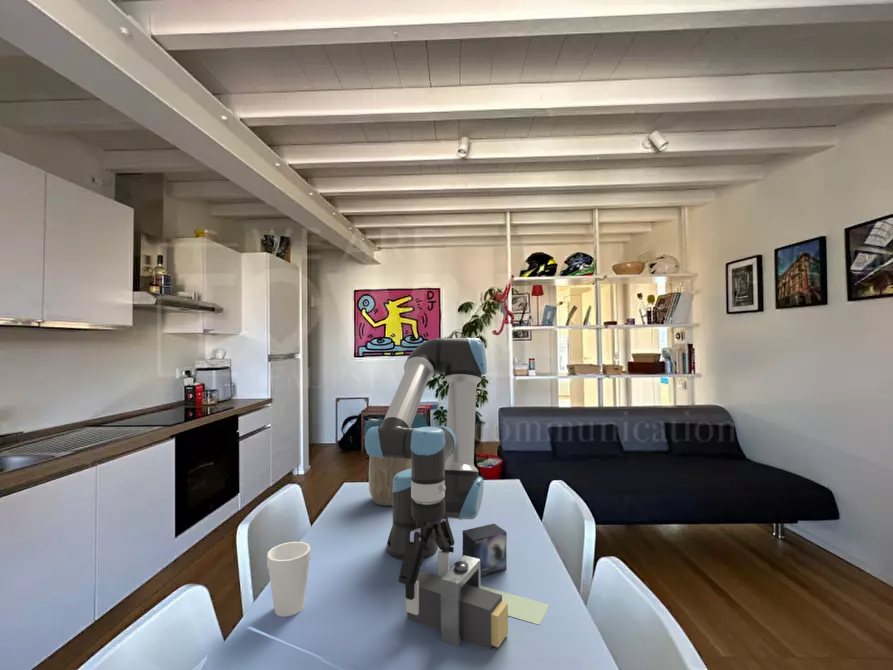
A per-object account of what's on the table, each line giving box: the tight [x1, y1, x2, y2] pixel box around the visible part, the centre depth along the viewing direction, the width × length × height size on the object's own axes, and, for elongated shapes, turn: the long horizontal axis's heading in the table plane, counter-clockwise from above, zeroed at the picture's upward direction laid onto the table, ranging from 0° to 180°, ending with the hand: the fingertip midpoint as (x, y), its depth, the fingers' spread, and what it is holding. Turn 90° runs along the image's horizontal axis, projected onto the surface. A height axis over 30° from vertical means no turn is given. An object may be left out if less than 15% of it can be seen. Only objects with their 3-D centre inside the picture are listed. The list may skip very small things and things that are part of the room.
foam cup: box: [266, 541, 311, 618], centre depth 100 cm, size 10×9×13 cm
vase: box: [368, 456, 411, 507], centre depth 169 cm, size 17×17×27 cm
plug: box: [406, 570, 509, 650], centre depth 92 cm, size 22×6×8 cm, turn 59°
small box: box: [461, 523, 508, 578], centre depth 115 cm, size 11×6×10 cm, turn 117°
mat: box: [481, 585, 550, 626], centre depth 100 cm, size 18×8×1 cm, turn 62°
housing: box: [440, 555, 482, 648], centre depth 92 cm, size 4×11×13 cm, turn 152°
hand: (429, 595), depth 96 cm, fingers open, 13 cm apart
